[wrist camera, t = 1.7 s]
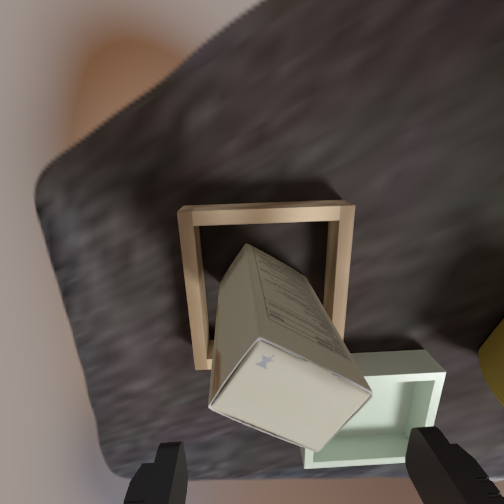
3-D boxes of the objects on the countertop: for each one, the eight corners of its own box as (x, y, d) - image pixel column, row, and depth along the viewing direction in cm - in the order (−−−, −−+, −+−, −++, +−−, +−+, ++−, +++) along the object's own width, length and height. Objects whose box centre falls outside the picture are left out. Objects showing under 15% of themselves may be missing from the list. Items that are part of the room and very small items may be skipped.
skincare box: (218, 283, 24) (196, 408, 12) (246, 240, 22) (252, 332, 11) (282, 317, 25) (318, 460, 13) (311, 278, 24) (379, 397, 12)
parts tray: (425, 349, 26) (446, 372, 24) (407, 433, 30) (424, 461, 27) (301, 355, 26) (308, 379, 23) (298, 439, 30) (304, 468, 27)
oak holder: (342, 199, 22) (355, 205, 19) (332, 343, 26) (341, 362, 24) (183, 205, 21) (176, 212, 19) (199, 350, 26) (195, 370, 23)
